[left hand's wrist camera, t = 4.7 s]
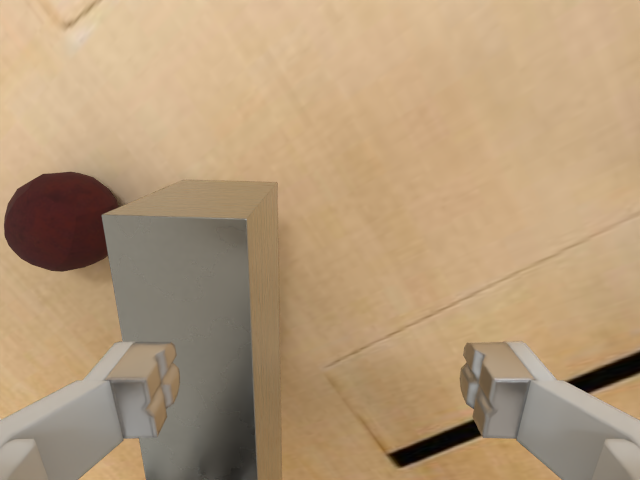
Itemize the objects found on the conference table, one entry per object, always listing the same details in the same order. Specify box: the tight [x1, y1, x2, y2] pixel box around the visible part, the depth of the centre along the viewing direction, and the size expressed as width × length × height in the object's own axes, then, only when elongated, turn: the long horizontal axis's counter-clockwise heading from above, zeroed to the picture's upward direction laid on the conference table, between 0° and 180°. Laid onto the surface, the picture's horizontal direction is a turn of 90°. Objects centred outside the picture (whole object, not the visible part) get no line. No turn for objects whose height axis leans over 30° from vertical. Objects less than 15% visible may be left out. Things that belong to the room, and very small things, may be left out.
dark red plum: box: [4, 172, 118, 271], centre depth 29 cm, size 7×8×7 cm
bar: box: [102, 180, 282, 480], centre depth 23 cm, size 26×6×9 cm, turn 179°
